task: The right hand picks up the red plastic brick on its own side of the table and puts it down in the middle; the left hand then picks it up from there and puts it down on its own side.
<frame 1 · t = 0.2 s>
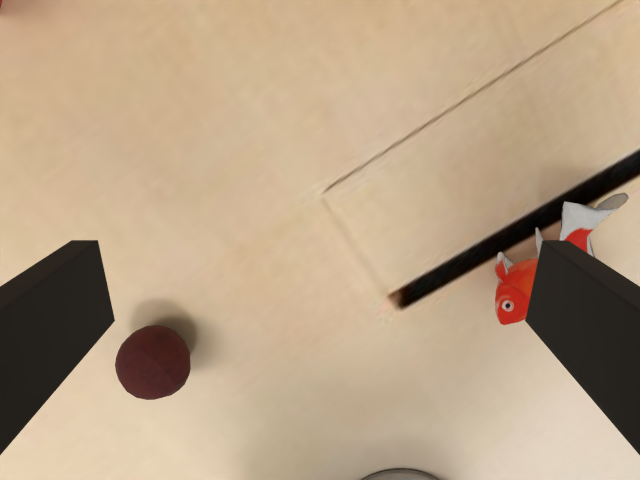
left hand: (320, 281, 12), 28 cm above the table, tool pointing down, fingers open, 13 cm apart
fish: (537, 240, 42), on the table
dark brown ball: (166, 342, 46), on the table
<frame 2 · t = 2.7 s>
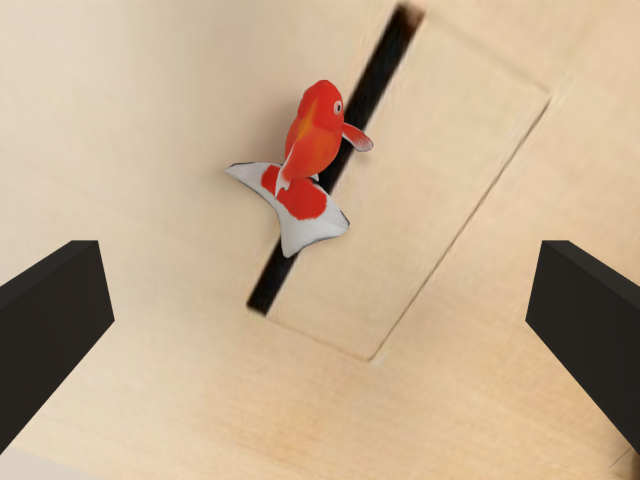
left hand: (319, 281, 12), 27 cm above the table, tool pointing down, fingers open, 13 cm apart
fish: (306, 169, 38), on the table
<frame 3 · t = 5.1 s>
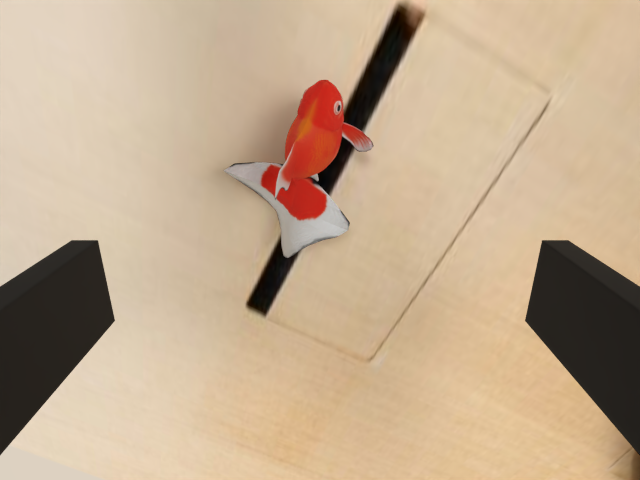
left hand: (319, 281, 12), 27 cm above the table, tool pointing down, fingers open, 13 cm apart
fish: (306, 169, 38), on the table
when the right hand's fingers open (4 cm above the table, at t = 7.8 s): brick drops 1 cm, on the table.
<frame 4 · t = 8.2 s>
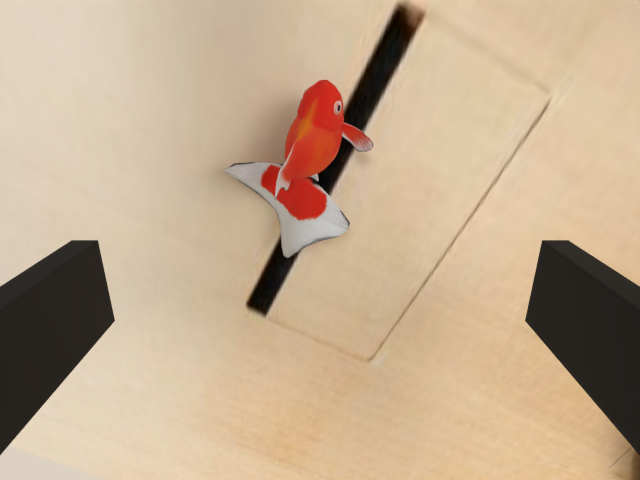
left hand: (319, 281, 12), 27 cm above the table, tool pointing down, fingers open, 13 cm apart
fish: (306, 169, 38), on the table
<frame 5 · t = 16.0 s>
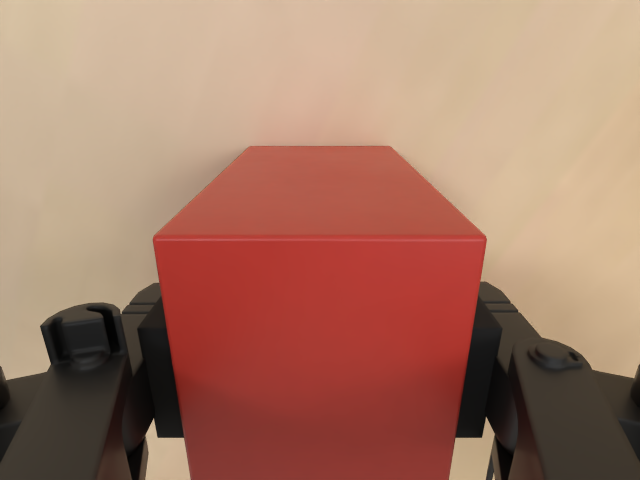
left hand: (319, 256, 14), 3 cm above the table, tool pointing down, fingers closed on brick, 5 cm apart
brick: (319, 231, 17), on the table, touching left hand
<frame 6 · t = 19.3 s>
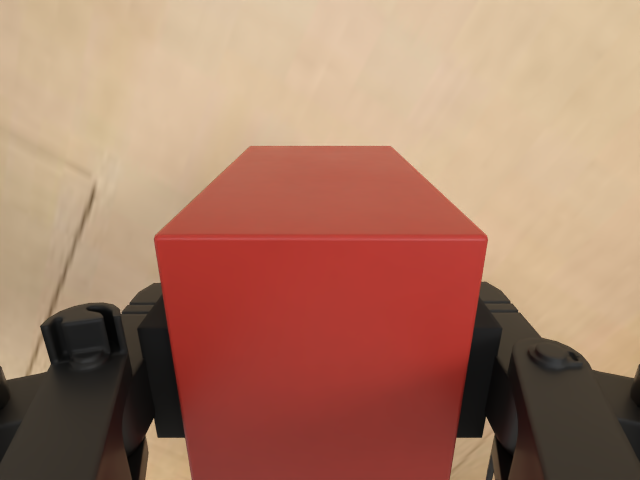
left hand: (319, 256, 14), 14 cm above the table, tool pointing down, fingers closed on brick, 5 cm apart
brick: (320, 231, 17), point 11 cm above the table, touching left hand
when the left hand's fingers open (4 cm above the table, at t = 22.5 s): brick drops 1 cm, on the table.
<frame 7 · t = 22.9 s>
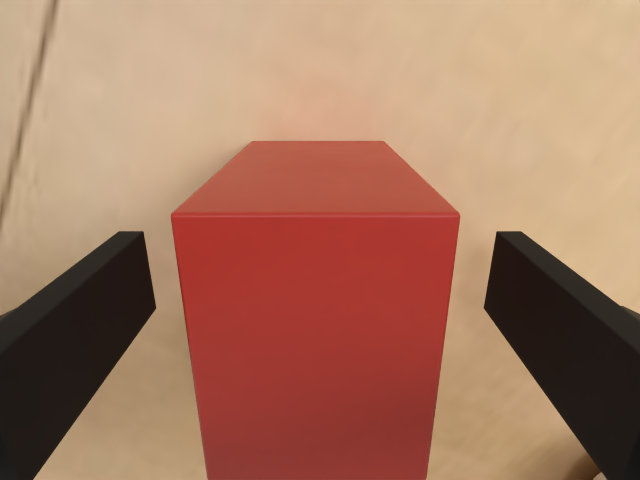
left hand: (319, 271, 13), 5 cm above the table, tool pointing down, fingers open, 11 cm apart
brick: (318, 222, 18), on the table
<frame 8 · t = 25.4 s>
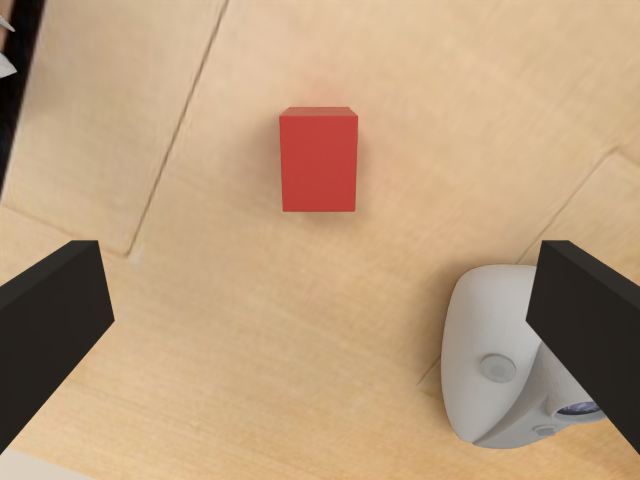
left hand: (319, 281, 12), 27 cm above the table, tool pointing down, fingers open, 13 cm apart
brick: (319, 145, 38), on the table
projector: (503, 345, 46), on the table
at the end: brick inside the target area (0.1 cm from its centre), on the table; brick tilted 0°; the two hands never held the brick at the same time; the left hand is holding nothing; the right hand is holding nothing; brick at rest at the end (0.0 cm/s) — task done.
